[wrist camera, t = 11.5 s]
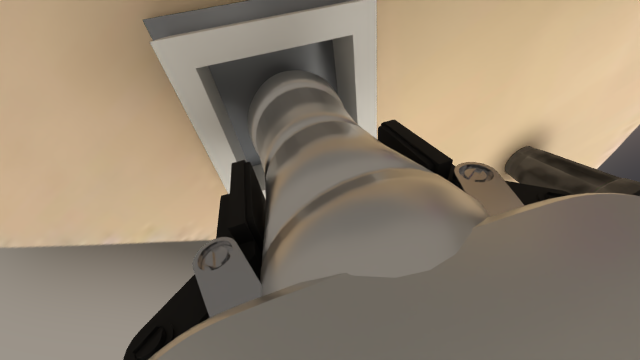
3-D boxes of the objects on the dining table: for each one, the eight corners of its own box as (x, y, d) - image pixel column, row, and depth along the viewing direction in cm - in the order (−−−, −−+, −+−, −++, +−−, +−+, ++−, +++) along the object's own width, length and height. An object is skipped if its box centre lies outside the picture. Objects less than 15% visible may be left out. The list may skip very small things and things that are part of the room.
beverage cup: (489, 186, 35) (691, 324, 19) (508, 142, 31) (789, 276, 15) (527, 175, 36) (747, 297, 21) (552, 132, 32) (852, 245, 16)
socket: (148, 19, 15) (113, 21, 11) (355, -19, 16) (393, -30, 12) (232, 188, 23) (230, 225, 19) (362, 151, 25) (386, 177, 21)
